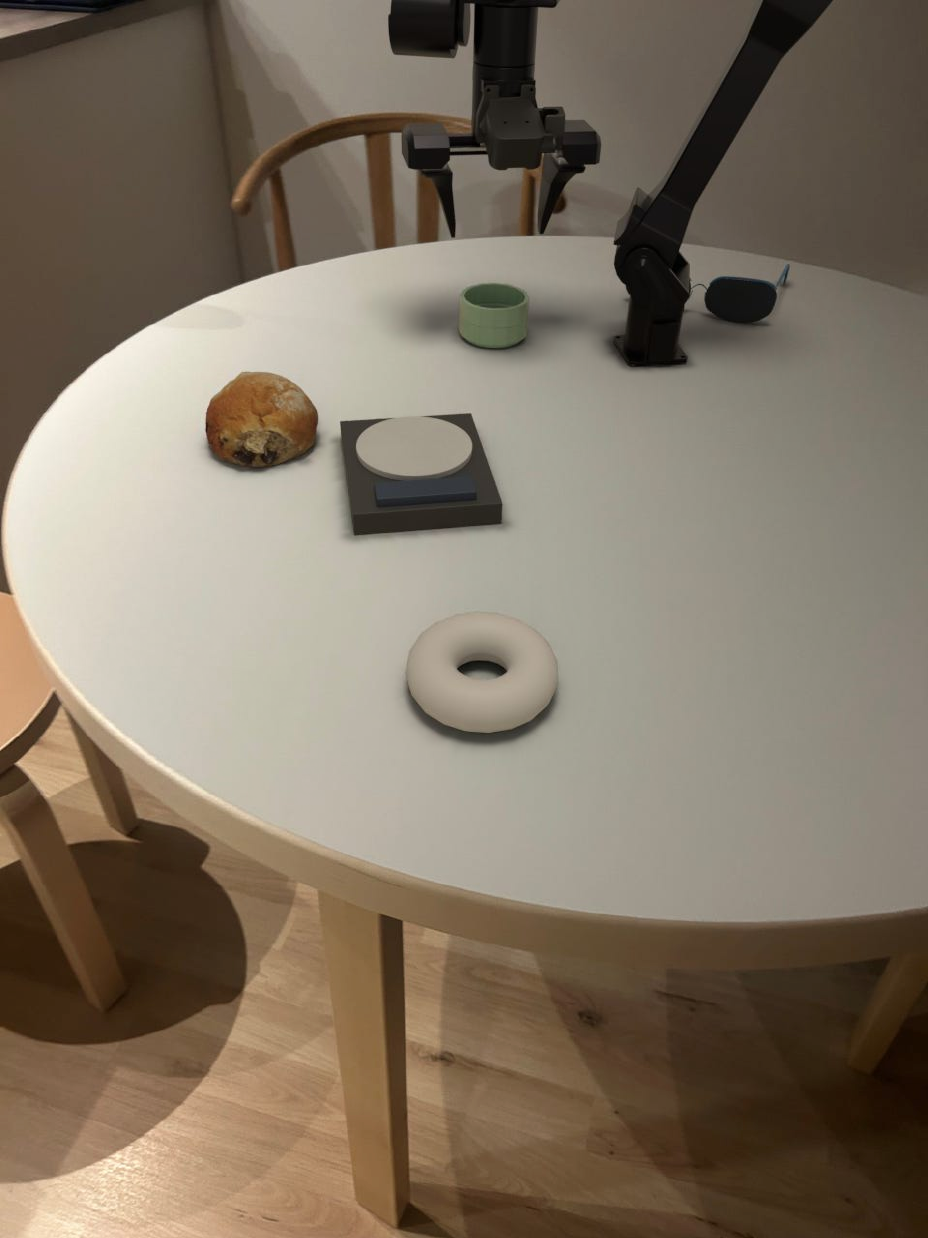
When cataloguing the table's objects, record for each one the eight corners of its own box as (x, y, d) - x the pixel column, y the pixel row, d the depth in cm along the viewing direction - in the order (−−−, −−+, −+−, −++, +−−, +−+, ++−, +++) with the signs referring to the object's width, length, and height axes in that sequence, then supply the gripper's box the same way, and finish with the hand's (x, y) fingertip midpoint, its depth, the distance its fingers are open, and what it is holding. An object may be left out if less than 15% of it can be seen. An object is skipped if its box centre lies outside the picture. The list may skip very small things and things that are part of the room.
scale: (341, 440, 88) (339, 412, 86) (470, 431, 89) (471, 404, 87) (353, 535, 76) (352, 505, 75) (501, 523, 78) (503, 494, 76)
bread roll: (332, 471, 90) (346, 386, 88) (271, 479, 81) (285, 383, 78) (244, 447, 93) (255, 363, 91) (176, 451, 84) (186, 358, 81)
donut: (543, 636, 68) (402, 640, 67) (548, 598, 66) (402, 602, 65) (567, 742, 60) (408, 747, 59) (573, 703, 58) (408, 708, 57)
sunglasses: (620, 302, 113) (627, 258, 110) (648, 276, 125) (655, 236, 122) (768, 328, 108) (779, 283, 106) (783, 299, 120) (793, 257, 117)
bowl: (455, 323, 108) (455, 284, 105) (518, 320, 109) (520, 281, 106) (465, 352, 102) (466, 311, 99) (532, 348, 103) (535, 307, 100)
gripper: (414, 82, 81) (417, 267, 91) (627, 79, 83) (606, 259, 93) (399, 55, 89) (402, 227, 99) (592, 53, 92) (577, 221, 102)
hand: (496, 234), depth 98 cm, fingers open, 9 cm apart
